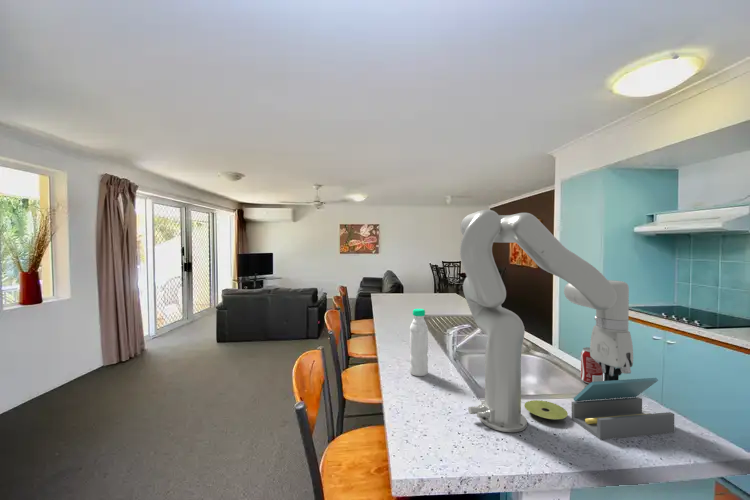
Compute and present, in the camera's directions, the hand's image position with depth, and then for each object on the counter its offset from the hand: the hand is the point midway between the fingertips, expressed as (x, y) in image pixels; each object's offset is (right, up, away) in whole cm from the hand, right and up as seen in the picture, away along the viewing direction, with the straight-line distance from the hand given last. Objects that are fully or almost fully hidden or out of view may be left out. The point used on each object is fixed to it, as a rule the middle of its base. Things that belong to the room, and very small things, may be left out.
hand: (611, 387), depth 93 cm
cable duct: (0, -9, -3) cm, 10 cm away
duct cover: (0, 0, -2) cm, 2 cm away
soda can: (+11, -9, +26) cm, 29 cm away
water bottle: (-50, -9, +34) cm, 62 cm away
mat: (-18, -9, +2) cm, 20 cm away
